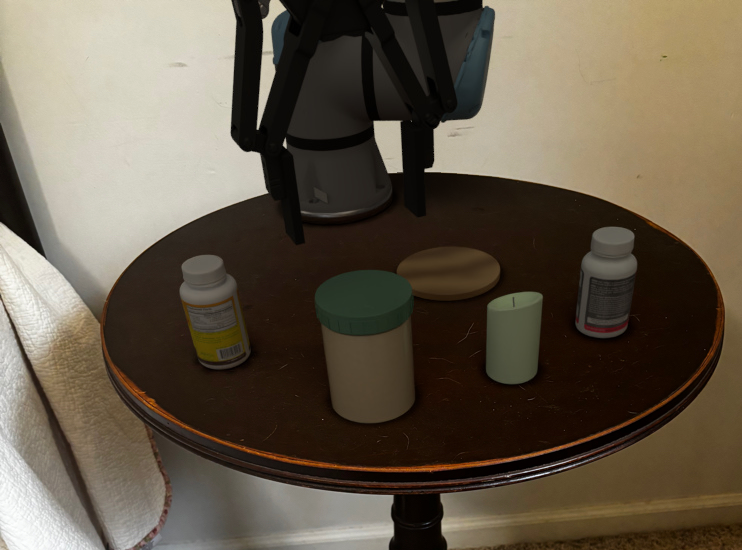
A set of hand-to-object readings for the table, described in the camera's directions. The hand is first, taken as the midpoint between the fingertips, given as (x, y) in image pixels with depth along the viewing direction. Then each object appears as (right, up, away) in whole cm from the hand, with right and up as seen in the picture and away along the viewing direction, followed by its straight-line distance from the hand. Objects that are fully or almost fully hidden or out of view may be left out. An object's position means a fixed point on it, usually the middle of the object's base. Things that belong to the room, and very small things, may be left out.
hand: (356, 224), depth 64 cm
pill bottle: (+24, -3, +19) cm, 31 cm away
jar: (+1, -12, +12) cm, 17 cm away
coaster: (+9, +5, +29) cm, 31 cm away
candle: (+14, -9, +14) cm, 22 cm away
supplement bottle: (-15, -7, +19) cm, 25 cm away
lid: (0, -4, +5) cm, 6 cm away
